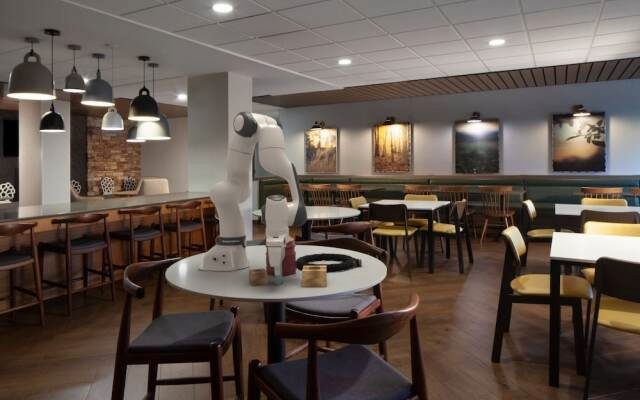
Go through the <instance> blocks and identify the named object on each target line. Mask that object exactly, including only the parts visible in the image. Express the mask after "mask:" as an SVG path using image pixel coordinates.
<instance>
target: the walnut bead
mask: <svg viewBox="0 0 640 400" xmlns="http://www.w3.org/2000/svg"><path fill="white" fill-rule="evenodd" d="M248 281H249V282H248V283H249V285H251V287H255V286H264V285H265V286H266V285H267V286H268V274H267V271H266V268H255V269H249V270H248Z"/></svg>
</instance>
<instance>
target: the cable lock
mask: <svg viewBox="0 0 640 400" xmlns="http://www.w3.org/2000/svg"><path fill="white" fill-rule="evenodd" d="M322 260H324V262H325V261H331V260H332V262H333V261H334V262H339V263H313V262H320V261H321V262H322ZM341 261H342V262H341ZM324 265H326V270H327V273H333V272H334V273H336V272H337V271H338V272H344V271H348V270H350V269H355V268H362V259H361V258H360V259H359V258H356V257H353V256H351V255H347V254H345V253H344V254H343V253H313V254H306V255H303V256H299V257H298V258H296V269H297V268H298V270H301V271H302V270H303V266H324ZM343 270H344V271H343Z"/></svg>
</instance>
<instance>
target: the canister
mask: <svg viewBox="0 0 640 400" xmlns="http://www.w3.org/2000/svg"><path fill="white" fill-rule="evenodd" d="M294 240H295V239H294V238H293V237H291V235H289V242H288V243H286V246H285V257H284V259H283V261H282V276H289V275H293V274H295V273H296V272H297V267H296V261H297V257H296V255H297V251H296V250H295V247H296V246H297V244H296V243H295V242H294ZM264 247H265V248H266V251H265V253H264V254H265V270H266V271H267V275H271V276H275V269H274V267H271V266H270V263H269V254H268V246H266V244H265V245H264Z"/></svg>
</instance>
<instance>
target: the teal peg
mask: <svg viewBox="0 0 640 400" xmlns="http://www.w3.org/2000/svg"><path fill="white" fill-rule="evenodd" d="M274 284H275V286H280V285H283V275H282V263H281V265H280V275H274Z"/></svg>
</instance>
